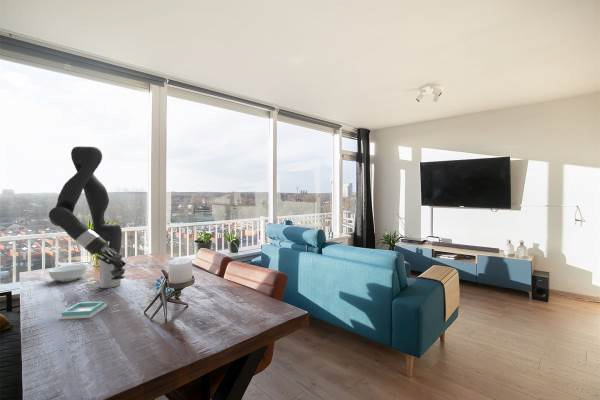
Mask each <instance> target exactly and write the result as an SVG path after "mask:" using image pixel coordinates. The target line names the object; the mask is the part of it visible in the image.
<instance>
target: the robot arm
mask: <svg viewBox="0 0 600 400" xmlns="http://www.w3.org/2000/svg"><path fill="white" fill-rule="evenodd" d="M70 156H71V160H72V164H73V166H74V168H75V170H76V173H75V174H74V175H73V176H71V177H70V178H69V179H68V180H67V181H66V182H65V183H64V185H63V186H62V189H61V190H60V192H59V194H58V197H57V203H56V205H55V207H53V208H52V209H50V210H49V212H48V217H49V221H50V222H51V224H52V225H53V226H56V227H60V228H61V229H63V230H64V231H65V233H66V235H68V237H70V238H72V239H73V240H74V241H76V243H78V245H79V246H81V247H82V248H83V249H85V250H86V252H88V253H90V254H91V255H95V254H97V255H98V256H97V259H99V287H100V288H101V289H111V288H115V287H119V286H120V285H121V283H122V282H121V281H122V279H119V280H112V279H111V278H113V277H115V276H113V275H112V274H111V272H110V271H111V270H113V269H114V266H115V267H116V268H118V269H121V268H123V267H125V266H126V265H127V262H126V261H124V260H123V259H122V264H121V263H120V262H118V261H117V260H116V259H115V258H114V256H115V255H116V254H117V252H118V254H120V255H121V248H122V236H123V235H122V234H123V233H122V232H123V231H122V227H121V226H120V224H116V223H114V224H113V223H112V224H110V223H108V224H107V223H106V220H105V213H106V211H107V209H108V206H109V204H110V199H109V195H108V191H107V188H106V186H104V184H103V183H102V182H101V181H100V180H99V179H98V178H97V177H96V176H95V174H94V173H95V172H96V170H97V169H98V167H99V165H100V164H101V163H102V160H103V153H102V151H101V149H99V148H98V147H94V146H82V145H81V146H74V147H73V148H72V149H71V152H70ZM82 192H83V193H84V196H85V198H86V199H85V200H86V203H87V205H88V209H89V212H90V215H91V220H92V225H93V230H92V229H91V228H90V227H89V226H87V225H86V224H85V223H83V222H82V221H81V220H80V219H79V218H78V217H76V214H74V210H75V207H76V204H77V203H78V201H79V199H80V197H81V195H82ZM107 244H108V245H107Z"/></svg>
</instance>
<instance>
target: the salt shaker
mask: <svg viewBox="0 0 600 400" xmlns="http://www.w3.org/2000/svg"><path fill="white" fill-rule="evenodd" d="M114 258H115V259H116V260H117V261H118V262H120V263H121V264H122V260H123V258H122V255H121V253H120V254H118V252H117V254H116V255H115V256H114ZM125 271H126V269H125V268H123V267H122V268H121V269H118V268H116V267H115V266H114V269H113V270H111V271H110V272H111V274H112V275H113V276H115V277H113V278H111V279H112V280H119V279H121V280H123V279H125V278H126V277H125V276H124V274H125Z"/></svg>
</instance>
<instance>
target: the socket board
mask: <svg viewBox="0 0 600 400" xmlns="http://www.w3.org/2000/svg"><path fill="white" fill-rule="evenodd" d="M107 306H108V305H107V303H106V302H105V301H84V302H83V301H82V302H80V301H79V302H77V303H75V304H73V305H72V306H70V307H68V308H65V310H63V311H62V312H61V313H60V314H61V315H60V316H59V317H58V319H59V320H72V319H73V320H74V319H91V318H92V317H94V316H95V315H97V314H98V313H100V312H101V311H102V310H104V309H105V308H107Z"/></svg>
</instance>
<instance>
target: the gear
mask: <svg viewBox="0 0 600 400" xmlns="http://www.w3.org/2000/svg"><path fill="white" fill-rule="evenodd" d="M162 279H164V276H160V278H157V280H156V283H155V287H156V290H157V291H160V289H159V288H160V287H161V286H160V284H161V281H162ZM168 290H169V292H170V291H172V292H173V290H174V289H173V288H171V289H170V288H167V292H168ZM169 292H168V293H169Z"/></svg>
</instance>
